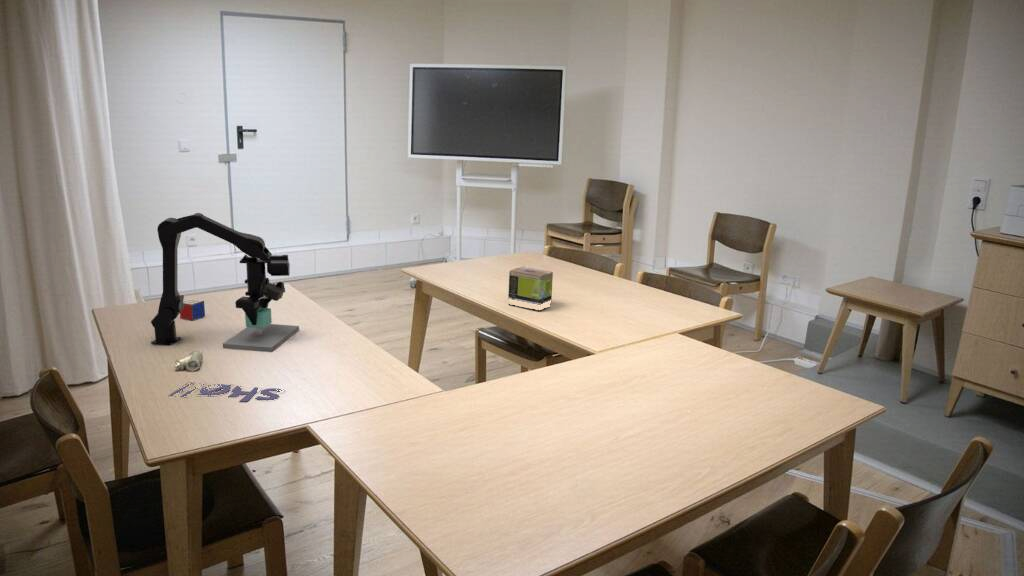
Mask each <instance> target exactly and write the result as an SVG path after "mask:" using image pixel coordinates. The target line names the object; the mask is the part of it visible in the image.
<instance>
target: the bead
mask: <svg viewBox="0 0 1024 576" xmlns="http://www.w3.org/2000/svg"><path fill="white" fill-rule="evenodd" d="M244 317H245V318H244V319H245V328H247V327H253V328H265V327H266V326H268V325H269V324H273V321H272V309H271V308H270V307H269V308H259V309H258V311H257V322H256V325H252V323H251V321H250V320H249V318H248V316H247V315H246V313H245V312H244Z"/></svg>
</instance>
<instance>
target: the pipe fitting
mask: <svg viewBox="0 0 1024 576" xmlns="http://www.w3.org/2000/svg"><path fill="white" fill-rule="evenodd" d="M203 360H204V355H203V352H202V351H199V350H196V349H194V351H191V352H190V353H189V354H188V355H186V356H184V357H181V358H179V359H176V360H175V363H174V368H175V369H176V370H178V369H180V371H183V370H187V371H189V372H195V371H194V370H196V371H198V370H199V369H200V367H201V362H202V361H203Z"/></svg>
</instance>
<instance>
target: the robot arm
mask: <svg viewBox="0 0 1024 576" xmlns="http://www.w3.org/2000/svg"><path fill="white" fill-rule="evenodd" d="M196 228H197V229H199V230H200V231H201V230H202V231H204V232H206V233H208V234H210V235H213V236H214V237H217V238H219V239H222V240H224V241H225V242H228V243H230V244H232V245H233V246H235V247H236V248H237V249H238V250H239V251H241V252H242V253H243V254H244V255H243V257H242V258H240V260H239V264H246V265H245V266H246V279H244V284H246V285H247V291H246V292H244V294H245V295H244V296H241V297H240V298H238V299H236V301H235V308H236V309H241V310H242V311H243V312H244V314H245V313H246V315H247V316H248V318H249V320H250V321H251V323H252V325H256V322H257V311H258V309H259V308H268V307H269V304H270V302H272V301H275V302H278V301H279V300H280V299H282V298H283V295H284V293H286V288H285V284H284V282H282V281H278V282H277V283H271V282H270V279H269V277H266V276H267V274H269V275H270V277H289V276H290V275H291V274H290V273H291V272H290V269H291V268H290V267H291V266H290V261H289V254H281V255H273V254H272V252H271V251H270V250H269V249H268V248H267V247H266V242H265V239H264V238H262V237H260V236H258V235H254V234H250V233H245V232H241V231H238V230H236V229H234V228H232V227H229V226H227V225H225V224H222V223H221V222H218V221H216V220H214V219H212V218H210V217H209V216H205V215H204V214H203V213H200V212H196V213H194V214H190V215H187V216H182V217H178V218H175V217H168V218H166V219H164V220H163V221H162V222H160V223H159V224H158V225H157V235H158V240H159V243H160V246H161V248H162V294H161V297H160V301H159V305H158V310H157V313H156V315H155V316H153V318H152V319H151V321H150V323H151V325H152V327H153V328H154V338H155V339H154V340H152V341H151V342H150V344H151V345H152V344H153V345H163V346H165V345H167V346H170V345H173V344H175V343H177V341H179V340H181V339H182V337H181V336H177V330H176V329H177V327H176V319H177V318H178V316H180V312H181V311H182V309H183V308H184V304H183V301H184V299H185V295H184V294H180V293H179V290H178V247H179V244H180V240H181V237H182V233H184V232H187V231H190V230H193V229H196ZM266 272H267V274H266Z"/></svg>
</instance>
